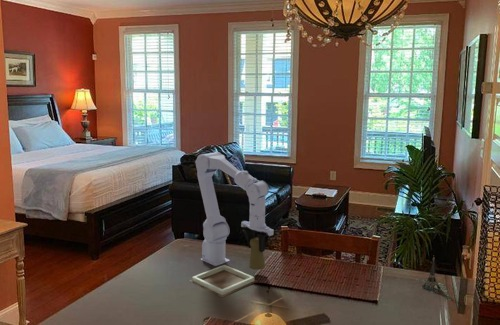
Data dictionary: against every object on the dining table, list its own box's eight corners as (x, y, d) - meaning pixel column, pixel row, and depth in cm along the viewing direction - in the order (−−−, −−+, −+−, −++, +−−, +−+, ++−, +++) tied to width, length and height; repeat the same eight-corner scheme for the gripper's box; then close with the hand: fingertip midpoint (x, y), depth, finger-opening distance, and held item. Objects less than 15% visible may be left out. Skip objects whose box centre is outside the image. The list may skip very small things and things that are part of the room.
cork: (265, 263, 177) (265, 235, 176) (265, 269, 172) (264, 241, 170) (249, 263, 178) (249, 235, 176) (248, 269, 172) (248, 241, 170)
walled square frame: (192, 280, 169) (192, 276, 169) (224, 268, 181) (224, 264, 180) (222, 295, 158) (222, 291, 158) (254, 281, 170) (254, 277, 169)
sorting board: (188, 281, 169) (188, 280, 169) (224, 267, 182) (224, 266, 182) (221, 298, 157) (221, 297, 157) (258, 282, 170) (258, 281, 170)
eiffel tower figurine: (452, 301, 158) (455, 264, 155) (420, 298, 160) (424, 261, 157) (443, 282, 172) (446, 248, 170) (414, 280, 174) (417, 246, 172)
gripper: (279, 216, 169) (278, 251, 171) (250, 208, 179) (250, 241, 181) (266, 220, 164) (265, 256, 166) (237, 211, 174) (237, 246, 176)
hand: (256, 249), depth 174 cm, fingers closed on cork, 5 cm apart
